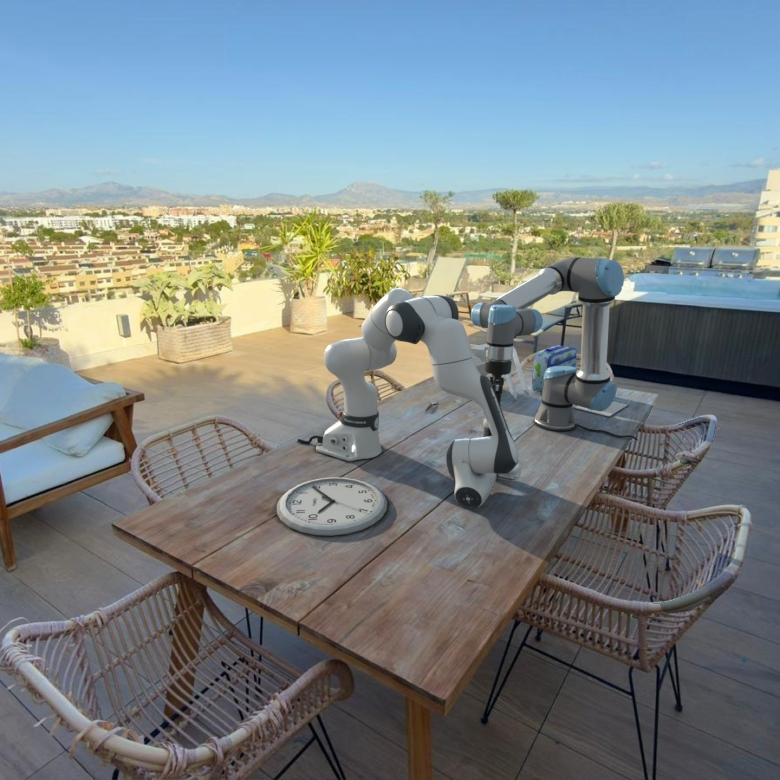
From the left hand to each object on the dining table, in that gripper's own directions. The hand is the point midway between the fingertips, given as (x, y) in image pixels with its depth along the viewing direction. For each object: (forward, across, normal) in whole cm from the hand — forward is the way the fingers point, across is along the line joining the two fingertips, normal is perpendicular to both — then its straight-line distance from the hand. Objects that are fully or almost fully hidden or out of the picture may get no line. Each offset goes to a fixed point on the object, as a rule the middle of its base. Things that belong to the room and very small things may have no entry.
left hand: (491, 455), depth 161 cm
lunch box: (+99, -9, +6) cm, 100 cm away
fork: (+53, +36, +6) cm, 64 cm away
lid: (-1, 0, -12) cm, 12 cm away
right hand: (-1, 0, -8) cm, 8 cm away
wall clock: (-37, +36, +6) cm, 52 cm away
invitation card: (+84, -31, +6) cm, 90 cm away
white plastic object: (+82, +22, +6) cm, 85 cm away
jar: (-1, 0, +6) cm, 6 cm away
